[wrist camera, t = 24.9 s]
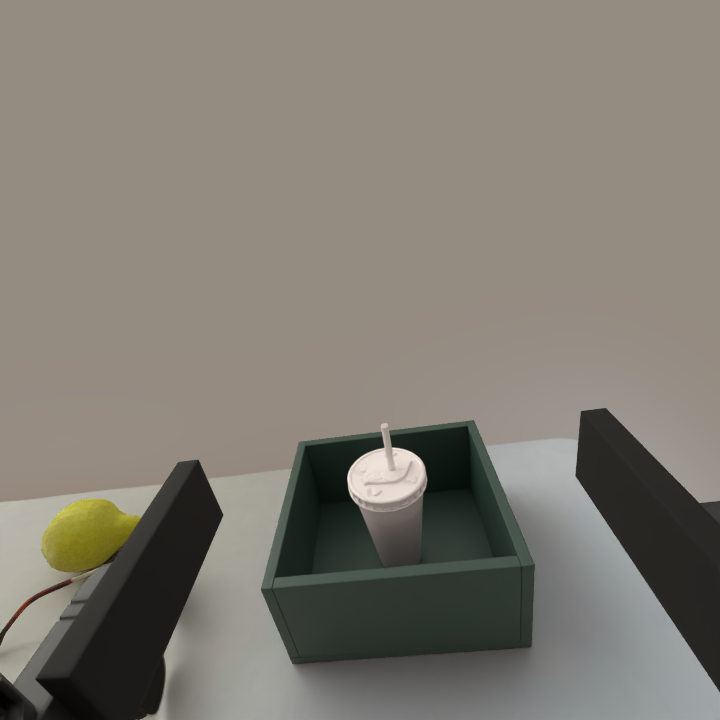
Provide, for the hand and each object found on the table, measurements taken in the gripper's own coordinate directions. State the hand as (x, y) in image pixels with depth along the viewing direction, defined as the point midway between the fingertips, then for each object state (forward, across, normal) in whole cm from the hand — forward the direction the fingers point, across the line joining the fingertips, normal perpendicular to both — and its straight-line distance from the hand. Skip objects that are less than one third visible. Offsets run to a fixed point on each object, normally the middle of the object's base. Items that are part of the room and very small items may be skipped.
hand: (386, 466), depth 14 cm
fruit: (+16, -37, -18) cm, 44 cm away
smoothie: (+13, -1, -22) cm, 26 cm away
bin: (+13, -2, -23) cm, 26 cm away
